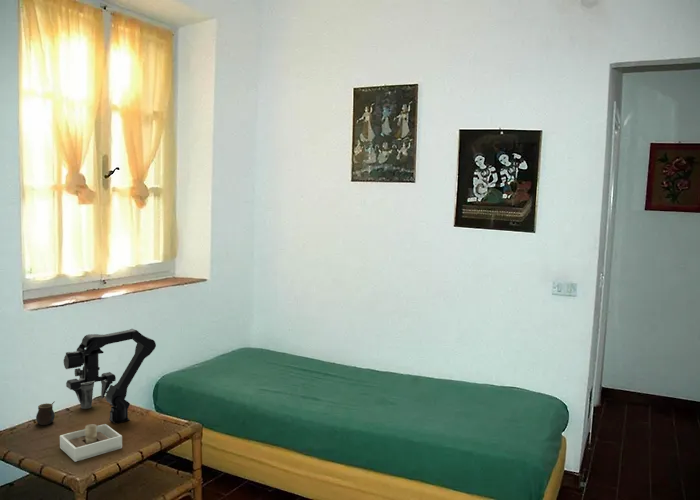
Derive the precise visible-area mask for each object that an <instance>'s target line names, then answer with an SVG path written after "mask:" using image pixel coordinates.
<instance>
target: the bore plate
mask: <svg viewBox="0 0 700 500" xmlns="http://www.w3.org/2000/svg"><path fill="white" fill-rule="evenodd" d="M106 439H109V438H108V437H106V436H105V435H104V434H102V433H101V432H98V433H97V442H99V441H103V440H106ZM70 443H71V444H73V445H74V446H75V447H76V448H77V447H81V446H84V445H88V444H86V436H83V437H79V438H75V439H71V440H70ZM91 444H92V443H91Z"/></svg>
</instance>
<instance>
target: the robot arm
mask: <svg viewBox="0 0 700 500" xmlns="http://www.w3.org/2000/svg"><path fill="white" fill-rule="evenodd" d="M130 340H133V342H135V343H136V345H135V349H134V354H133V356H132V357H131V360H130V361H129V363H128V365H127V366H126V368H125V370H124V371H123V372H122V375H121V376H120V378H119V380H118V382H117V383H115V384H114V385H113V382H116V375H115V374H114V373H112V372H110V371H108V372H103V373H101V375H100V376H99V371H100V368H101V367H99V366H100V363H99V360H100V359H99V355H100V354H104V351H103V350H101V349H102V348H103V347H104V346H106V345H110V344H115V343H120V342H121V343H122V342H125V341H130ZM156 345H157V343H156V341H155V340H154V339H152V338H149V337H147V336H145V335H143V334H142V333H141V332H140V331H139V330H137V329H134V328H131V329H127V330H121V331H117V332H111V333H106V334H97V333H96V334H95V333H94V334H90V333H89V334H86V335H84V337H82V339H81V343H80V344H79V345H78V346H77V348H76V350H75V351H68V352H65V355H64V358H63V365H64V368H65V370H70V369H71V370H72V369H74V377H79V378H82V379H84V380H80V381H79V378H73V379H68V380H67V381H66V383H65V387H66V388H68V389H69V390H71V391H73V392H74V393H75V394H76V396H77V399H78V402H79V404H80V403H81V402H82V389H81V388H80V387H81V385H83V384H88V383H93V382H94V383H97V382H100V383H101V390H100V391H101V392H100V394H101V396H100V397H101V399H103V398H104V397H105V401H106V402H107V403H109V405H110V406H111V407H110V411H109V421H111V422H112V423H113V424H120V423H123V422H128V421H130V418H129V412H128V411H129V408H130V404H131V403H130V402H129V401H128V400H126V397H127V393H128V388H129V385H130V384H131V382H132V381H133V378H135V376H136V374H137V372H138V370H139V369H140V367H141V365H142V364H143V363H144V360H145V359H147V357H149V356H150V355H151V354H152V353H153V352H154V351H155V349H156ZM81 367H82V369H81Z"/></svg>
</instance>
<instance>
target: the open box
mask: <svg viewBox="0 0 700 500" xmlns="http://www.w3.org/2000/svg"><path fill="white" fill-rule="evenodd" d="M98 432H101V433H102V434H104V435H105V436H106V437H108V438H109V439H106V440H103V441H99V442H95V443H92V444H88V445H84V446H81V447H77V448H76V447H75V446H74V445H73V444H71V443H70V440H71V439H75V438H79V437H83V436H86V434H85V428H84V429H79V430H75V431H72V432H68V433H64V434H61V435H59V448H60V449H61V451H63V452H64V453H65V454H66V455H67V456H68V457H69V458H70V459H71V460H72V461H74V462H79V461H83V460H86V459H90V458H92V457H96V456H99V455H103V454H107V453H111V452H114V451H117V450H120V449H123V435H122V434H120V433H119V432H117V431H116V430H115V429H113V428H112V427H111V426H109V425H108V424H106V423H104V424H100V425H99V424H98V425H97V433H98Z"/></svg>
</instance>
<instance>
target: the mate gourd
mask: <svg viewBox="0 0 700 500" xmlns="http://www.w3.org/2000/svg"><path fill="white" fill-rule="evenodd" d="M55 402H56V401H53V402H52V403H47V402H45V403H41V404H40V405H38V407H37V409H38V411H37V413H36V416H35V420H36V422H37V423H38V424H39V425H40V426H46V425H50V424H51V423H53V422H54V420H55V417H56V414H55V411H54V409H53V408H54V407H53V406H54V403H55Z"/></svg>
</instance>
